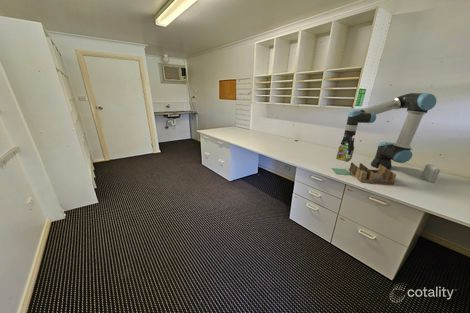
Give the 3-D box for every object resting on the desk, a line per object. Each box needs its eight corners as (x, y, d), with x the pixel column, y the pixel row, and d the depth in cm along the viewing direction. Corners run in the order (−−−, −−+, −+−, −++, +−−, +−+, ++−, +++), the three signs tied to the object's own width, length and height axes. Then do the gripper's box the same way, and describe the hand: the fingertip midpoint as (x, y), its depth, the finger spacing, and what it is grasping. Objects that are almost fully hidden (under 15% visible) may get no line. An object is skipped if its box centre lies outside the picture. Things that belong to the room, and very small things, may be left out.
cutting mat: (331, 168, 164) (331, 168, 164) (345, 169, 162) (345, 169, 162) (336, 174, 153) (336, 173, 153) (351, 175, 151) (351, 174, 151)
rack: (348, 170, 160) (350, 162, 157) (377, 172, 157) (380, 164, 154) (360, 182, 140) (362, 172, 137) (393, 184, 136) (397, 175, 134)
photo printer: (419, 176, 150) (425, 162, 146) (426, 177, 149) (431, 163, 145) (429, 182, 141) (435, 167, 137) (436, 183, 140) (442, 168, 136)
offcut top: (358, 172, 148) (359, 169, 147) (363, 173, 148) (364, 169, 147) (361, 175, 143) (362, 172, 142) (366, 176, 142) (367, 172, 141)
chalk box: (335, 159, 154) (339, 142, 149) (339, 156, 160) (343, 140, 155) (347, 162, 148) (352, 144, 143) (351, 159, 153) (355, 142, 148)
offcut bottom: (357, 176, 150) (358, 172, 149) (361, 176, 149) (362, 172, 148) (361, 180, 143) (362, 176, 142) (365, 180, 143) (366, 176, 142)
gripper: (339, 127, 157) (334, 150, 164) (352, 133, 135) (345, 160, 142) (349, 127, 156) (343, 151, 163) (363, 133, 133) (356, 161, 141)
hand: (344, 155), depth 153 cm, fingers closed on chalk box, 12 cm apart
